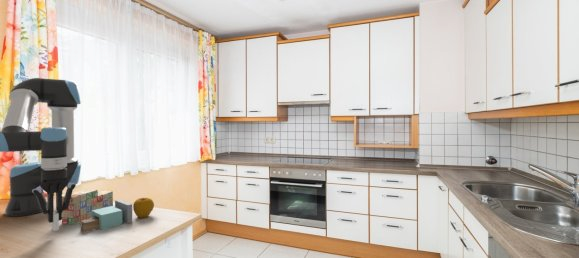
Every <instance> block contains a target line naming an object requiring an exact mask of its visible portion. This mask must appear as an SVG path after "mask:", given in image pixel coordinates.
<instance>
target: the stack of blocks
mask: <svg viewBox="0 0 579 258" xmlns="http://www.w3.org/2000/svg"><path fill="white" fill-rule="evenodd" d="M64 198H65V195H62V205H63V201H64ZM110 206H113V207H114V195H113V191H112V190H111V191H110V190H101V191H98V189H88V188H87V189H86V188H85V189H83V190H78V191H76V192H72V195H71V198H70V202H69V206H68V209H66V210H63V212H62V219H61V224H62V225H77V224H81V221H83V220H87V219H91V218H92V217H91V210H96V209H100V208H105V207H110Z"/></svg>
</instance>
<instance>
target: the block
mask: <svg viewBox="0 0 579 258" xmlns="http://www.w3.org/2000/svg"><path fill="white" fill-rule="evenodd" d="M91 217H92V218H95V217H99V229H98V230H105V229H109V228H114V227H116V226H121V225H123V221H122V210H120V209H118V208H115V206H114V205H113V206H110V207H105V208H100V209H96V210H91Z"/></svg>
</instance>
